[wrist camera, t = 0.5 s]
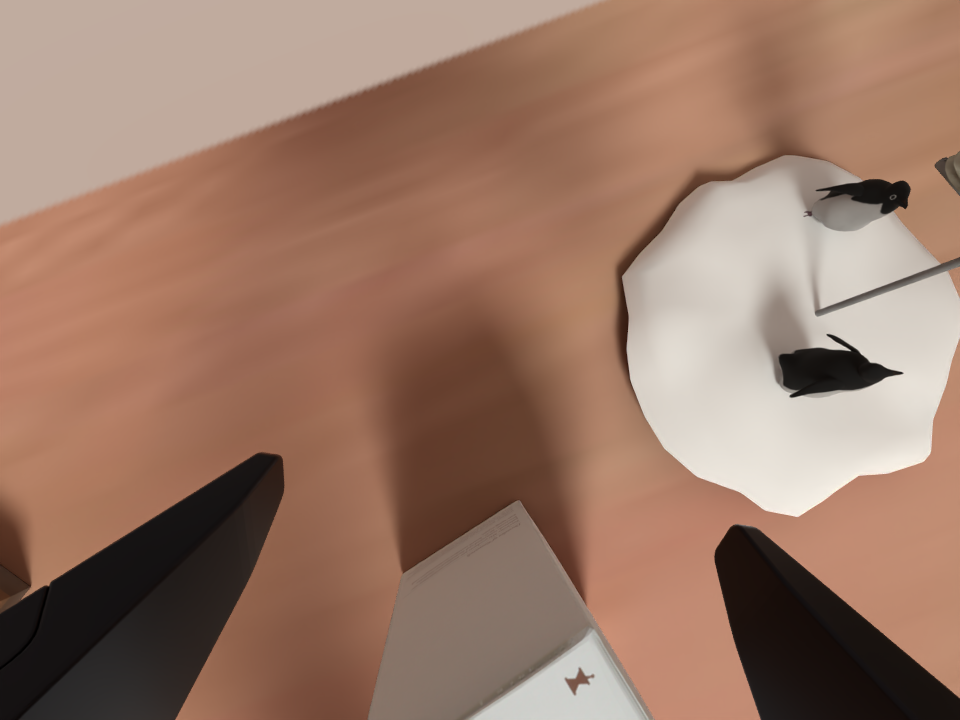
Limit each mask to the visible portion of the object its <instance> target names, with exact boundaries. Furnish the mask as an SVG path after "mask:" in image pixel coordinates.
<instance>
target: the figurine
mask: <svg viewBox="0 0 960 720" xmlns="http://www.w3.org/2000/svg"><path fill="white" fill-rule="evenodd" d="M935 168H936V169H937V170H938V171H939V172H940V174H941V175H942V176H943V177H944V178H945V179H946V181H947V182H948V183H949V184H950V185H951V186H952V188H953V189H954V190H955V191H956V192H957V193H958V195H959V196H960V152H958V153H957V154H956V155H953V156H951V157H949V158H947V157H945V158H942V159H941V160H939V161H938V162H937V163H936V164H935ZM910 190H911V189H910V186H909V185H908V183H907V182H905V181H898V182H895V183H893V184H891V183H889V182H887V181H884V180H881V179H870V180H865V181H863V180H862V179H860V178H859V177H858V176H856V175H854V174H852V173H850V172H848V171H846V170H844V169H842V168H840V167H838V166H836V165H835V164H833V163H831V162H829V161H825V160H819V159H813V158H808V157H802V156H796V155H784V156H781V157H779V158H777V159H774V160H772V161H770V162H767V163H765V164H763V165H760V166H758V167H756V168H754V169H752V170H750V171H748V172H747V173H745V174H743V175H741V176H740V177H738V178H736V179H734V180H733V181H711V182H708V183H706V184H703V185H701V186H699V187H697V188H696V189H695V190H694V191H693V192H692V193H691V194H690V195H688V196H687V197H686V198H685V199H684V200H683V201H682V202H681V203H679V205H678V206H677V208H676V210H675V211H674V213H673V214H672V216H671V217H670V219H669V221H668V222H667V224H666V225H665V227H664V228H663V230H662V231H661V232H660V233H659V234H658V235H657V236H656V237H655V238H654V239H653V240H652V241H651V242H650V243H649V244H648V245H647V246H646V247H645V248H644V249H643V250H642V252H641V253H640V254H639V255H638V256H637V258H636V259H635V260H634V262H633V263H632V264H631V266H630V267H629V268H628V270H627V271H626V272H625V273H624V275H623V276H622V280H623V286H624V292H625V297H626V303H627V309H628V314H629V325H628V338H627V356H628V364H629V372H630V380H631V383H632V386H633V388H634V391H635V393H636V396H637V398H638V401H639V403H640V406H641V409H642V411H643V414H644V416H645V418H646V420H647V421H648V423H649V424H650V426H651V428H652V429H653V431H654V432H655V434H656V436H657V437H658V439H659V441H660V442H661V444H662V445H663V447H664V449H665V450H667V451H668V452H669V453H670V454H671V455H672V456H674V457H675V458H676V459H677V460H678V461H679V462H681V463H682V464H683V465H684V466H685V467H686V468H687V469H689V470H690V471H691V472H692V473H693V474H694V475H696V476H697V477H699V478H702V479H705V480H707V481H710V482H713V483H716V484H719V485H721V486H724V487H727V488H730V489H733V490H735V491H738V492H741V493H742V494H743V495H745V496H746V497H747V498H749V499H750V500H751V501H753V502H754V503H756V504H757V505H758V506H760V507H761V508H762V509H764V510H765V511H770V512H775V513H780V514H785V515H790V516H795V517H799V516H800V515H802V514H803V513H805V512H806V511H808V510H810V509H811V508H813V507H814V506H816V505H817V504H819V503H821V502H822V501H824V500H825V499H826V498H827V497H829V496H830V495H831V494H833V493H834V492H835V491H837V490H838V489H840V488H841V487H843V486H844V485H846V484H847V483H849V482H850V481H852V480H853V479H855V478H856V477H857V476H861V475H875V474H888V473H891V472H894V471H897V470H900V469H903V468H906V467H909V466H912V465H915V464H918V463H921V462H924V460H925V459H926V458H927V457H928V456H929V454H930V453H931V443H932V427H933V418H934V416H935V413H936V411H937V408H938V405H939V403H940V400H941V397H942V394H943V392H944V389H945V386H946V383H947V379H948V375H949V370H950V366H951V362H952V358H953V355H954V352H955V350H956V347H957V344H958V341H959V338H960V298H959V296H958V294H957V291H956V289H955V287H954V284H953V282H952V279H951V277H950V275H949V272H948V270H951V269H954V268H957V267H959V266H960V257H959V258H956V259H954V260H951V261H948V262H946V263H943V264H940V263H939V262H938V261H937V260H936V259H935V257H934V256H933V255H932V254H931V253H930V252H929V251H928V250H927V249H926V248H925V247H924V246H923V245H922V244H921V243H920V242H919V241H918V239H917V238H916V237H915V236H914V235H913V234H912V233H911V232H910V231H909V230H908V229H907V228H906V227H905V226H904V225H903V223H902V222H901V221H900V219H899V218H898V217H897V215H896V214H895V213H894V210H895V209H897V208H898V207H899V206H901V207H903V208H904V209H906V208H907V206H908V196H909V194H910Z"/></svg>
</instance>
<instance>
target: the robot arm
mask: <svg viewBox="0 0 960 720" xmlns="http://www.w3.org/2000/svg"><path fill="white" fill-rule="evenodd" d="M283 493H284V470H283V459H282V457H281V456H280V455H277V454H270V453H264V452H260V453H257V454H255V455H253V456H252V457H250V458H249V459H247V460H245V461H244V462H242V463H241V464H239V465H237V466H236V467H234V468H233V469H231V470H229V471H228V472H226V473H225V474H223V475H221V476H220V477H218V478H217V479H215V480H213V481H212V482H210V483H208V484H207V485H205V486H204V487H202V488H200V489H199V490H197V491H196V492H194V493H192V494H191V495H189V496H188V497H186V498H184V499H183V500H181V501H180V502H178V503H176V504H175V505H173V506H172V507H170V508H168V509H167V510H165V511H164V512H162V513H160V514H159V515H157V516H156V517H154V518H152V519H151V520H149V521H148V522H146V523H144V524H143V525H141V526H140V527H138V528H136V529H135V530H133V531H132V532H130V533H128V534H127V535H125V536H123V537H122V538H120V539H119V540H117V541H115V542H114V543H112V544H111V545H109V546H107V547H106V548H104V549H103V550H101V551H99V552H98V553H96V554H95V555H93V556H91V557H90V558H88V559H87V560H85V561H83V562H82V563H80V564H79V565H77V566H75V567H74V568H72V569H71V570H69V571H67V572H66V573H64V574H63V575H61V576H59V577H58V578H56V579H55V580H53V581H52V582H51V583H50V585H49V586H43V587H41V588H40V589H38V590H37V591H35V592H33V593H32V594H30V595H29V596H27V597H25V598H24V599H22V600H20V601H19V602H17V603H16V604H14V605H12V606H11V607H9V608H7V609H6V610H4V611H2V612H1V613H0V720H175V719H176V717H177V715H178V713H179V711H180V710H181V708H182V706H183V704H184V702H185V700H186V698H187V696H188V694H189V692H190V691H191V689H192V687H193V685H194V683H195V681H196V679H197V677H198V675H199V674H200V672H201V670H202V668H203V666H204V664H205V662H206V660H207V658H208V656H209V655H210V653H211V651H212V649H213V647H214V645H215V643H216V641H217V639H218V637H219V636H220V634H221V632H222V630H223V628H224V626H225V624H226V622H227V620H228V619H229V617H230V615H231V613H232V611H233V609H234V607H235V605H236V603H237V601H238V600H239V598H240V596H241V594H242V592H243V590H244V588H245V586H246V584H247V582H248V580H249V578H250V576H251V574H252V572H253V569H254V567H255V565H256V562H257V560H258V557H259V555H260V552H261V550H262V547H263V545H264V542H265V540H266V537H267V535H268V532H269V530H270V527H271V525H272V522H273V520H274V517H275V515H276V512H277V509H278V507H279V504H280V502H281V499H282V496H283ZM714 558H715V565H716V569H717V573H718V577H719V582H720V586H721V590H722V594H723V598H724V602H725V606H726V611H727V615H728V619H729V623H730V627H731V631H732V634H733V638H734V642H735V645H736V648H737V651H738V654H739V657H740V660H741V663H742V666H743V669H744V672H745V675H746V678H747V681H748V683H749V686H750V689H751V692H752V695H753V698H754V701H755V704H756V707H757V710H758V713H759V716H760V719H761V720H960V698H959V697H958V696H956V695H955V694H954V693H953V692H952V691H951V690H949V689H948V688H947V687H946V686H945V685H943V684H942V683H941V682H940V681H939V680H937V679H936V678H935V677H934V676H933V675H931V674H930V673H929V672H928V671H927V670H926V669H924V668H923V667H922V666H921V665H920V664H918V663H917V662H916V661H915V660H914V659H912V658H911V657H910V656H909V655H908V654H906V653H905V652H904V651H903V650H902V649H901V648H899V647H898V646H897V645H896V644H895V643H893V642H892V641H891V640H890V639H889V638H887V637H886V636H885V635H884V634H883V633H881V632H880V631H879V630H878V629H877V628H875V627H874V626H873V625H872V624H871V623H870V622H868V621H867V620H866V619H865V618H864V617H862V616H861V615H860V614H859V613H858V612H856V611H855V610H854V609H853V608H852V607H850V606H849V605H848V604H847V603H846V602H845V601H843V600H842V599H841V598H840V597H839V596H837V595H836V594H835V593H834V592H833V591H831V590H830V589H829V588H828V587H827V586H825V585H824V584H823V583H822V582H821V581H820V580H818V579H817V578H816V577H815V576H814V575H812V574H811V573H810V572H809V571H808V570H806V569H805V568H804V567H803V566H802V565H800V564H799V563H798V562H797V561H796V560H795V559H793V558H792V557H791V556H790V555H789V554H787V553H786V552H785V551H784V550H783V549H781V548H780V547H779V546H778V545H777V544H775V543H774V542H773V541H772V540H771V539H769V538H768V537H767V536H766V535H765V534H764V533H762V532H761V531H760V530H759V529H757V528H755V527H752V526H746V525H739V524H735V525H733V526H731V527H730V528H729V530H728V531H727V533H726V535H725V536H724V538H723V539H722V541H721V542H720V544H719V545H718V547H717V548H716V551H715V556H714Z"/></svg>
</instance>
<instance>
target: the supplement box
mask: <svg viewBox="0 0 960 720" xmlns="http://www.w3.org/2000/svg"><path fill="white" fill-rule="evenodd" d="M367 720H655V719H654V718H653V716H652V714H651V712H650V711H649V709H648V707H647V706H646V704H645V702H644V701H643V699H642V697H641V695H640V694H639V692H638V690H637V689H636V687H635V685H634V684H633V682H632V680H631V678H630V677H629V675H628V674H627V672H626V670H625V669H624V667H623V665H622V664H621V662H620V660H619V659H618V657H617V655H616V654H615V652H614V650H613V649H612V647H611V645H610V644H609V642H608V641H607V639H606V637H605V636H604V634H603V632H602V631H601V629H600V627H599V626H598V624H597V622H596V621H595V619H594V618H593V616H592V614H591V613H590V611H589V609H588V608H587V606H586V604H585V603H584V601H583V599H582V598H581V596H580V594H579V593H578V591H577V590H576V588H575V586H574V585H573V583H572V581H571V580H570V578H569V577H568V575H567V573H566V572H565V570H564V568H563V567H562V565H561V563H560V562H559V560H558V559H557V557H556V555H555V554H554V552H553V551H552V549H551V547H550V546H549V544H548V543H547V541H546V540H545V538H544V536H543V535H542V533H541V532H540V530H539V529H538V527H537V526H536V524H535V523H534V521H533V520H532V518H531V517H530V515H529V514H528V512H527V511H526V509H525V508H524V506H523V505H522V503H521V501H520V500H517V501H515V502H514V503H512V504H510V505H509V506H507V507H506V508H504V509H503V510H501V511H499V512H498V513H496V514H495V515H493V516H492V517H490V518H489V519H487V520H485V521H484V522H482V523H481V524H479V525H477V526H476V527H474V528H473V529H471V530H470V531H468V532H467V533H465V534H464V535H462V536H460V537H459V538H457V539H456V540H454V541H453V542H451V543H449V544H448V545H446V546H445V547H443V548H442V549H440V550H439V551H437V552H435V553H434V554H432V555H431V556H429V557H428V558H427V559H425V560H423V561H422V562H420V563H418V564H417V565H415V566H414V567H412V568H411V569H409V570H408V571H406V572H405V573H403V575H402V576H401V580H400V584H399V589H398V593H397V596H396V601H395V605H394V609H393V614H392V618H391V622H390V626H389V631H388V635H387V639H386V643H385V647H384V652H383V656H382V660H381V664H380V668H379V672H378V676H377V681H376V685H375V690H374V694H373V698H372V702H371V706H370V710H369V715H368V719H367Z"/></svg>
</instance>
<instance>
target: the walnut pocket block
mask: <svg viewBox="0 0 960 720" xmlns="http://www.w3.org/2000/svg"><path fill="white" fill-rule="evenodd" d="M29 588H30V586H29V585H27V584H26V583H24V582H23V581H22V580H20V579H19V578H18V577H16V576H15V575H14V574H12V573H11V572H9V571H8V570H7V569H5V568H4V567H3V566H1V565H0V613H1V612H2V611H4V610H6V609H7V608H9V607H11V606H12V605H14V604H16V603H17V602H19V601H20V599H21V598H22V597H23V596H24V595H25V593H26V592H27V591H28V590H29Z"/></svg>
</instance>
